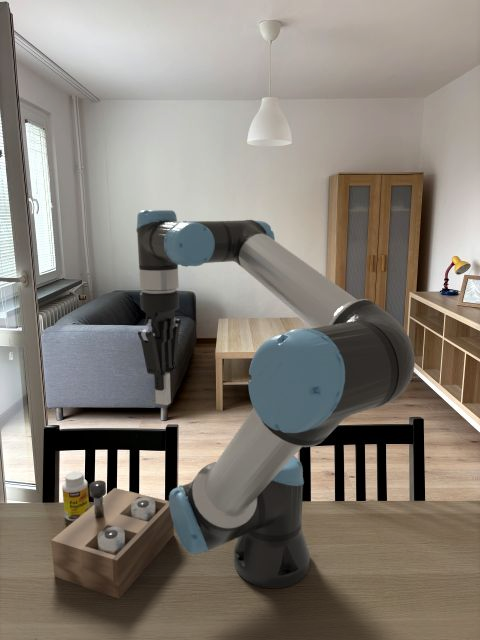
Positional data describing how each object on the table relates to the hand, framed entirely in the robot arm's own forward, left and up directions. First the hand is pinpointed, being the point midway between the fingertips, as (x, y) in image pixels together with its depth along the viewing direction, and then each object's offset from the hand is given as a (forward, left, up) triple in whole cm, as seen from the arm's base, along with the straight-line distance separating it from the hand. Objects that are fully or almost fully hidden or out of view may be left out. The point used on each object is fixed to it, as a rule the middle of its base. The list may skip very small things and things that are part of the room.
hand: (163, 403), depth 105 cm
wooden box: (+6, +10, -30) cm, 33 cm away
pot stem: (+10, +10, -22) cm, 26 cm away
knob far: (+3, +5, -30) cm, 31 cm away
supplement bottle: (+23, +2, -31) cm, 38 cm away
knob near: (+3, +16, -30) cm, 34 cm away
